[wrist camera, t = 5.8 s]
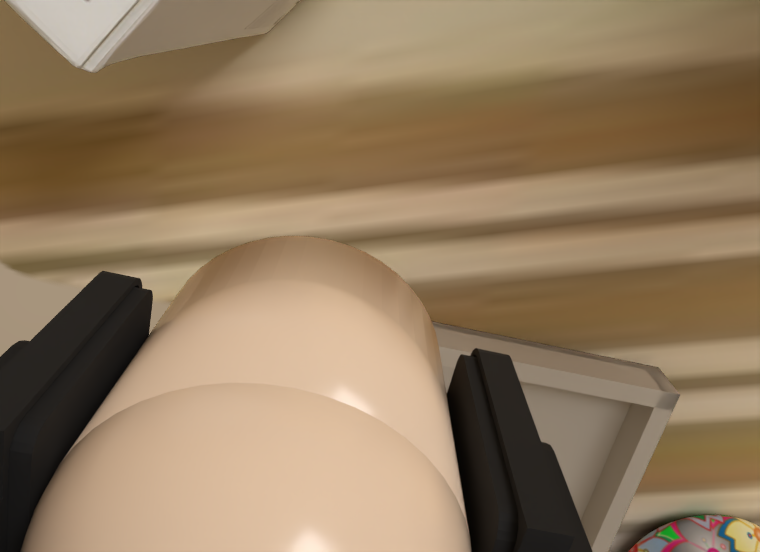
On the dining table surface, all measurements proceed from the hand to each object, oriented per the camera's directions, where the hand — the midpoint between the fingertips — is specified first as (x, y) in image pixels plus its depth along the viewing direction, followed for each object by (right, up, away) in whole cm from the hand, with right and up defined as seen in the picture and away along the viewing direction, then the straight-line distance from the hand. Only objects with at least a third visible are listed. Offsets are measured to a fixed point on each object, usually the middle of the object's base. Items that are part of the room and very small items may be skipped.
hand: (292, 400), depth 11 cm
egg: (0, 0, +1) cm, 1 cm away
